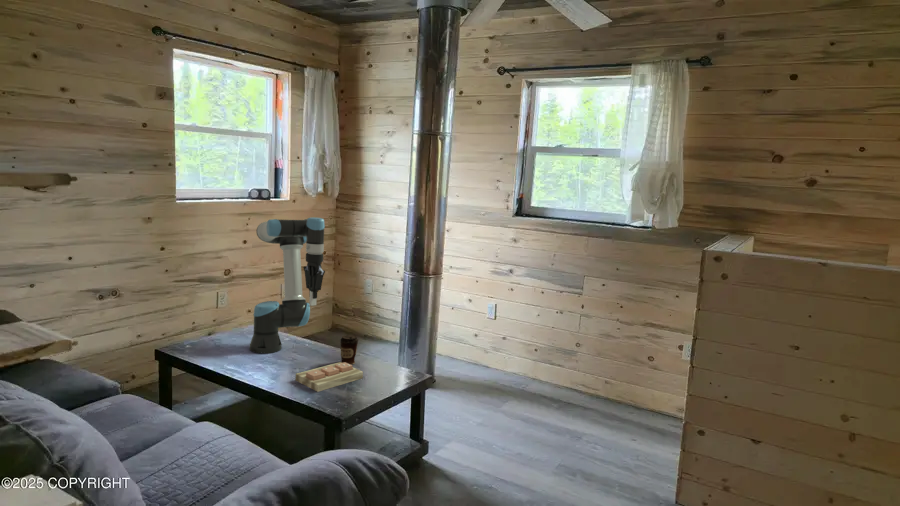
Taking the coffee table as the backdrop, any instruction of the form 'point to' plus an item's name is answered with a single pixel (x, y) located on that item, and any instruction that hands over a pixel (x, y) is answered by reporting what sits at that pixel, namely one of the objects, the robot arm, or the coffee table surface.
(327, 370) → the tile two pips
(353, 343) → the coffee cup
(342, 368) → the tile three pips
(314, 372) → the tile one pip
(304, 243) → the robot arm
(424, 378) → the coffee table surface
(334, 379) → the board
